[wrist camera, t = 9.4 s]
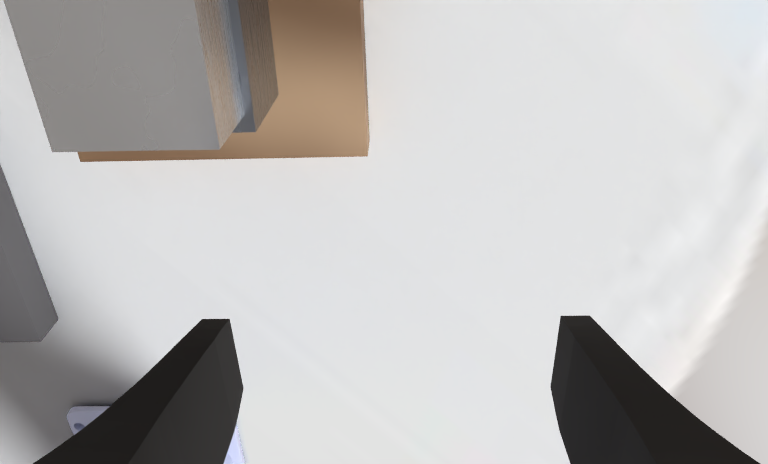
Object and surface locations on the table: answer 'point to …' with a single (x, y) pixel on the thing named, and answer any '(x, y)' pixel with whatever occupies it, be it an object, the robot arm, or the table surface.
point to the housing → (146, 71)
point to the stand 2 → (300, 90)
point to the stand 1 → (20, 279)
